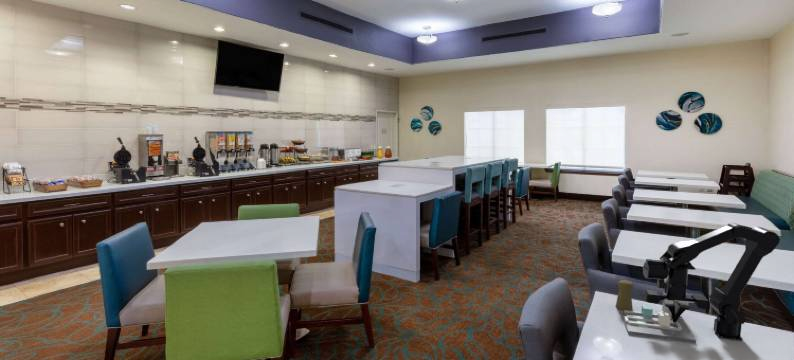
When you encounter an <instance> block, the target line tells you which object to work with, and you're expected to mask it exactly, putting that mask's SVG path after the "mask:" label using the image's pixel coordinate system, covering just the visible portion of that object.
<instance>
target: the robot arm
mask: <svg viewBox="0 0 794 360" xmlns="http://www.w3.org/2000/svg"><path fill="white" fill-rule="evenodd" d="M736 238H742V239H745V240H744V242H745V245H744V246H745V249H744V252H743V254H742V255H741V257H740V258H739V260H738V262H737V263H736V265H735V267H734V269H733V271H732V272H731V274H730V275H729V277H728V280H727V281H726V282H725V285H724V286H722V287H721V288H717V287H714V288H713V290H712V293H711V294H709V296H708V297H709V300H708V299H707V297H705V295H702V294H701V295H699V294H691V296H690V297H687V290H688V277H689V276H688V275H689V270H691V271H693V270H697V269H696V267H694V265H693V264H692V263H691V262H692V261H694V260H695V259H697V258H698V256H699V255H700V254H702V253H703V252H705V251H707V250H710V249H712V248H714V247H717V246H719V245H722V244H725V243H726V242H729V241H732V240H734V239H736ZM780 242H781V239H780V237H779V235H778V234H777V233H776V232H774V231H773V230H772V231H771V230H769V229H767V228H765V227H761V226H757V227H756V226H755V227H750V226H747V225H742V224H738V223H736V222H730V223H728V224H726V225H724V226H723V227H720V228H718V229H715V230H713V231H710V232H708V233H705V234H703V235H701V236H698V237H697V238H696V237H695V238H694V239H691V240H690V239H689V240H680V241H678V242H673V243H670V244H669V245H668V246H667V250H666V251H665V252H664V253H663V254H662V255H661V256H660V257H659V259H652V258H646V259H645V261H644V263H643V265H642V273H643V274H642V275H643V277H644V278H645V279H650V280H653V279H654V280H657V283H656V284H657V285H656V286H657V288H658V289H662V291H664V293H666V295H663V294H661V293H659V292H658V290H652V289H645V290H644V291H643V298H644V300H645V301H646V303H650V304H659V303H660V302H662V304H663V303H664V305H665V306H666V307H668V309H669V312H670V315H671V319H672V321H673V322H674V323H675V322H676V321H677V320H678V318H679V319H680V317H681V316H682V314H684V312H685V311H686V310H690V306H689V305H690V304H693V305H696V307H697V308H698V309H701V310H710V307H712V309H714V311H715V313H716V316H715V317H716V318H714V323H713V331H714V332H715V333H716V335H717V336H718V337H719V338H722V339H730V340H739V341H743V337H742V336H741V332H742V326H743V325H744V324H745V323H746V320H747V317H745V316H744V315H743V314H742V313H741V312H740V307H741V304H742V300H741V299H742V297H741V296H742V295H741V294H742V293H743V291H744V289H745V287H747V285H748V283H749V281H750V280H751V278H752V276H753V274H754V273H755V271H756V269H757V267H758V266H759V264H760V263H761V261H762V260H763V258H764V257H766V256H768V255H769V254H771V253H773V251H775V249H776V248H777V247H778V246H779V244H780ZM667 276H668V278H667ZM665 278H667V281H666V283H665V282H664V279H665ZM674 301H675V306H674V304H673V302H674Z"/></svg>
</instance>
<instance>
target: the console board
mask: <svg viewBox="0 0 794 360" xmlns="http://www.w3.org/2000/svg"><path fill="white" fill-rule="evenodd" d="M653 310H654V309H653V307H652V306H651V305H644V304H641V311H634V310H631V311H627V310H625V311H623V310H620V311H621V313H620V315H621V318H622V321H623V324H624V326H625V328H626V331H627V334H628V335H631V336H638V337H645V338H653V339H661V340H669V341H674V342H675V341H676V342H681V343H689V344H690V343H691V344H697V339H696V337H694V335H693V333H692V331H691V330H690V328H689V327H688V326H687V324H686V323H685V320H684V319H683V318H680V317H679V318H678V320H677V321H676V322H675V323H674V322H673V321H672V319H671V316H670V327H669V326H661V325H659V324H658V313H653Z"/></svg>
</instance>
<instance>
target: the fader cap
mask: <svg viewBox="0 0 794 360" xmlns="http://www.w3.org/2000/svg"><path fill="white" fill-rule="evenodd" d="M657 314H658V324H659V325H661V326H669V327H670V315H669V314H668V313H664V312H663V311H662V312H661V311H658V313H657Z"/></svg>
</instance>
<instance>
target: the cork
mask: <svg viewBox="0 0 794 360" xmlns="http://www.w3.org/2000/svg"><path fill="white" fill-rule="evenodd" d="M617 287H618V289H619V290H618V294H617V296H616V298H617V299H616V303H615V307H617V308H616V309H618V310H620V311H623V312H625V310H627V311H634V310H633V308H634V307H633V297H632V290H633V289H634V288H633V287H634V285H633V282H631V281H629V280H624V279H623V280H621V279H620V280H619V281H618V282H617Z"/></svg>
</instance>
